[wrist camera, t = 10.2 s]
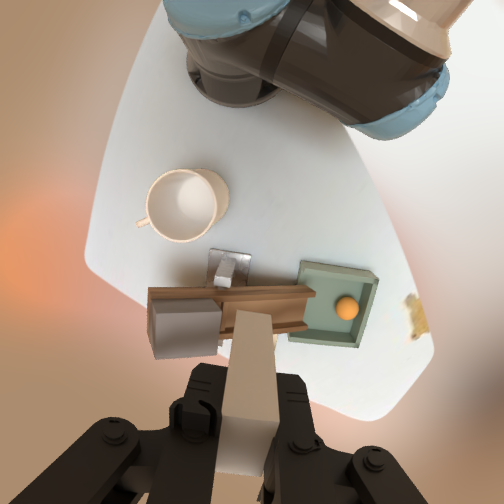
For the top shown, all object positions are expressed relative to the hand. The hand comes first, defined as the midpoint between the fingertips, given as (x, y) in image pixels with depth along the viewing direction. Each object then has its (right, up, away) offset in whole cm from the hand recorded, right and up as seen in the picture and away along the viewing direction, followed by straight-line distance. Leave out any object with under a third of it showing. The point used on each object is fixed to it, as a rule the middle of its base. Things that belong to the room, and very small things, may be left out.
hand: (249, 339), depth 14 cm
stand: (-4, -1, +34) cm, 34 cm away
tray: (+12, -4, +34) cm, 36 cm away
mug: (-9, +11, +31) cm, 34 cm away
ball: (+15, -5, +32) cm, 35 cm away
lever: (-3, -7, +27) cm, 28 cm away
